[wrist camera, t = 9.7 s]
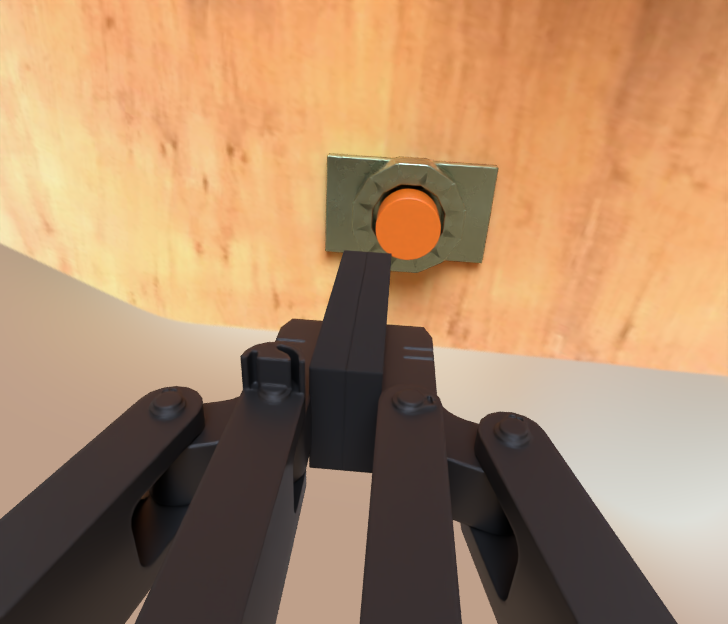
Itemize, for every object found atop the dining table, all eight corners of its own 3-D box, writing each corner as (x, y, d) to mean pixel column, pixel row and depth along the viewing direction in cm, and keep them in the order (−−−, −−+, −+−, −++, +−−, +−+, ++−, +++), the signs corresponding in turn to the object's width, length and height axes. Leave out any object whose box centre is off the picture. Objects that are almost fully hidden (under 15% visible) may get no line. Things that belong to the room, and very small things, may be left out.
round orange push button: (375, 245, 31) (373, 257, 30) (379, 185, 30) (377, 195, 28) (434, 249, 31) (436, 262, 29) (442, 190, 30) (444, 200, 28)
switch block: (326, 251, 34) (321, 265, 32) (328, 148, 31) (322, 157, 29) (479, 262, 34) (485, 278, 31) (497, 160, 31) (504, 170, 28)
